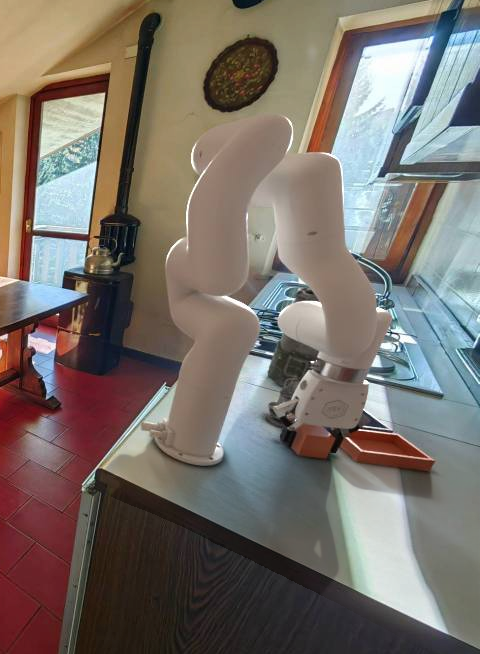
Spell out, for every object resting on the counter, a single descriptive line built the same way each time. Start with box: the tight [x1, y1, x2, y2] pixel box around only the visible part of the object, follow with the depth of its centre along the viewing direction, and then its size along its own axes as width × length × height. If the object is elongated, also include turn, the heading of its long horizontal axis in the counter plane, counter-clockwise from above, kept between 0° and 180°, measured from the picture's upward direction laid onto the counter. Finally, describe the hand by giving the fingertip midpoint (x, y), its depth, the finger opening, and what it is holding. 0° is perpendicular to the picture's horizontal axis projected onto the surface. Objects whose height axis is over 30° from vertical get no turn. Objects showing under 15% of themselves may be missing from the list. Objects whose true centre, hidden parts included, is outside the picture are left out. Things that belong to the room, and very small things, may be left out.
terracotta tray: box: [331, 428, 436, 472], centre depth 80 cm, size 12×9×2 cm
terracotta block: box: [290, 424, 335, 460], centre depth 80 cm, size 5×5×5 cm
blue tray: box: [322, 408, 394, 433], centre depth 89 cm, size 12×9×2 cm
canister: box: [267, 287, 319, 388], centre depth 104 cm, size 16×16×28 cm
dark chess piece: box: [264, 376, 300, 428], centre depth 89 cm, size 6×6×12 cm
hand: (306, 446), depth 81 cm, fingers open, 7 cm apart
